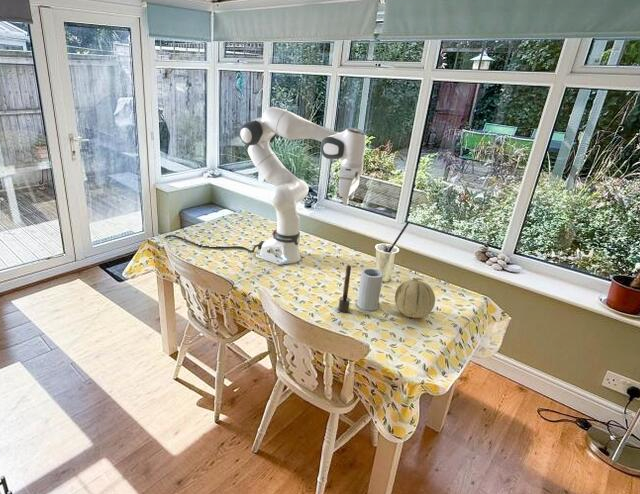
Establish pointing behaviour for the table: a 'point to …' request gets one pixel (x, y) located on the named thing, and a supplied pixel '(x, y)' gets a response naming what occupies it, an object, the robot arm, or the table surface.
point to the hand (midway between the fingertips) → (348, 201)
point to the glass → (387, 257)
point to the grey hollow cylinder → (369, 289)
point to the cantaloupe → (414, 298)
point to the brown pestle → (345, 292)
